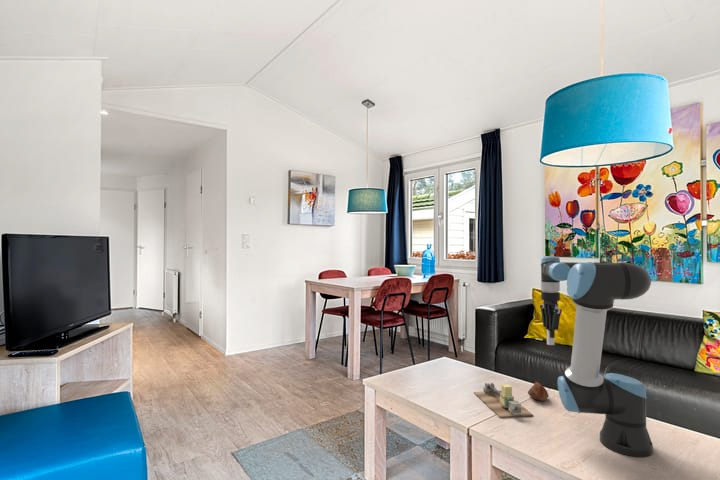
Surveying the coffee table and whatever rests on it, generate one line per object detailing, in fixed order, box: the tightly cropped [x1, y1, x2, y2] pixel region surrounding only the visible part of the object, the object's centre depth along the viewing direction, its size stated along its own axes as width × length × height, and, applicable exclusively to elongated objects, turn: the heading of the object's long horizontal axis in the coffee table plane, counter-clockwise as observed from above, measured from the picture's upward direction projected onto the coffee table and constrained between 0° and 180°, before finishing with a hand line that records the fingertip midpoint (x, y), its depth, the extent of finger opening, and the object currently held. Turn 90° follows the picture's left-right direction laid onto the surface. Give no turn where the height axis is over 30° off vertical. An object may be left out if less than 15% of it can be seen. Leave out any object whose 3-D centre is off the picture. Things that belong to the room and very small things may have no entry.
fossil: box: [527, 381, 550, 402], centre depth 177 cm, size 13×8×10 cm
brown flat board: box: [473, 382, 534, 419], centre depth 170 cm, size 26×14×5 cm, turn 6°
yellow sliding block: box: [500, 383, 515, 408], centre depth 166 cm, size 4×4×8 cm
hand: (550, 344), depth 175 cm, fingers closed
